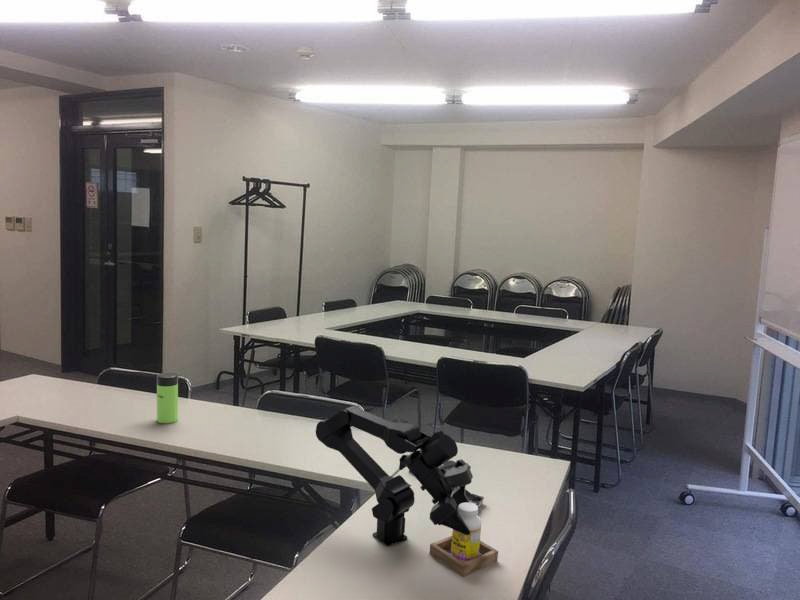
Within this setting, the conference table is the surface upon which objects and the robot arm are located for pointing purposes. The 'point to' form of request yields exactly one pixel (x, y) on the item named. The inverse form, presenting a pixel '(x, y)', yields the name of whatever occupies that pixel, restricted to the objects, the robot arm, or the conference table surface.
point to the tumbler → (167, 397)
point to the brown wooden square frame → (462, 568)
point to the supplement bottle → (467, 544)
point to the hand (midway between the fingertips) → (471, 524)
